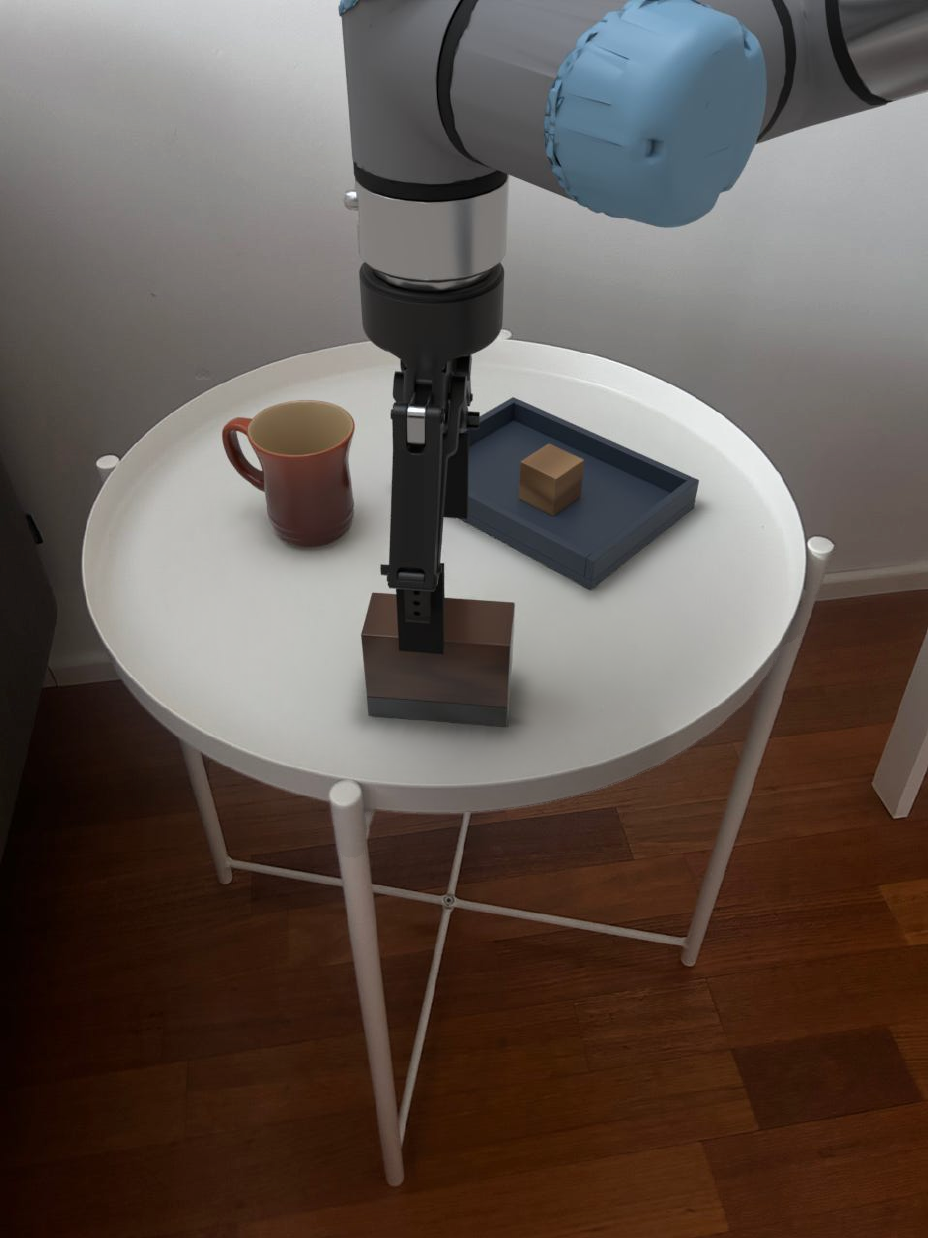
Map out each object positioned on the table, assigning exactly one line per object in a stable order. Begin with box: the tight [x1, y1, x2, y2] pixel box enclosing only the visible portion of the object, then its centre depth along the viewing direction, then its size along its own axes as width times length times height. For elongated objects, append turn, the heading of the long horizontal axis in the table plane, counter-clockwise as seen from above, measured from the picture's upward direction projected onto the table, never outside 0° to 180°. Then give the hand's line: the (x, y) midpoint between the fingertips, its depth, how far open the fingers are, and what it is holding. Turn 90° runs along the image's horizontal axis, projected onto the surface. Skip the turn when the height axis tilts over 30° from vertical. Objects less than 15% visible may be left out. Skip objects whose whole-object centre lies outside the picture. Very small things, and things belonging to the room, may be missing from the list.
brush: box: [360, 592, 516, 727], centre depth 71 cm, size 10×4×8 cm, turn 84°
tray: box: [458, 396, 700, 591], centre depth 91 cm, size 22×16×3 cm
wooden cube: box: [519, 444, 584, 516], centre depth 89 cm, size 4×4×4 cm
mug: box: [221, 399, 356, 548], centre depth 86 cm, size 12×9×10 cm
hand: (436, 576), depth 66 cm, fingers open, 13 cm apart
